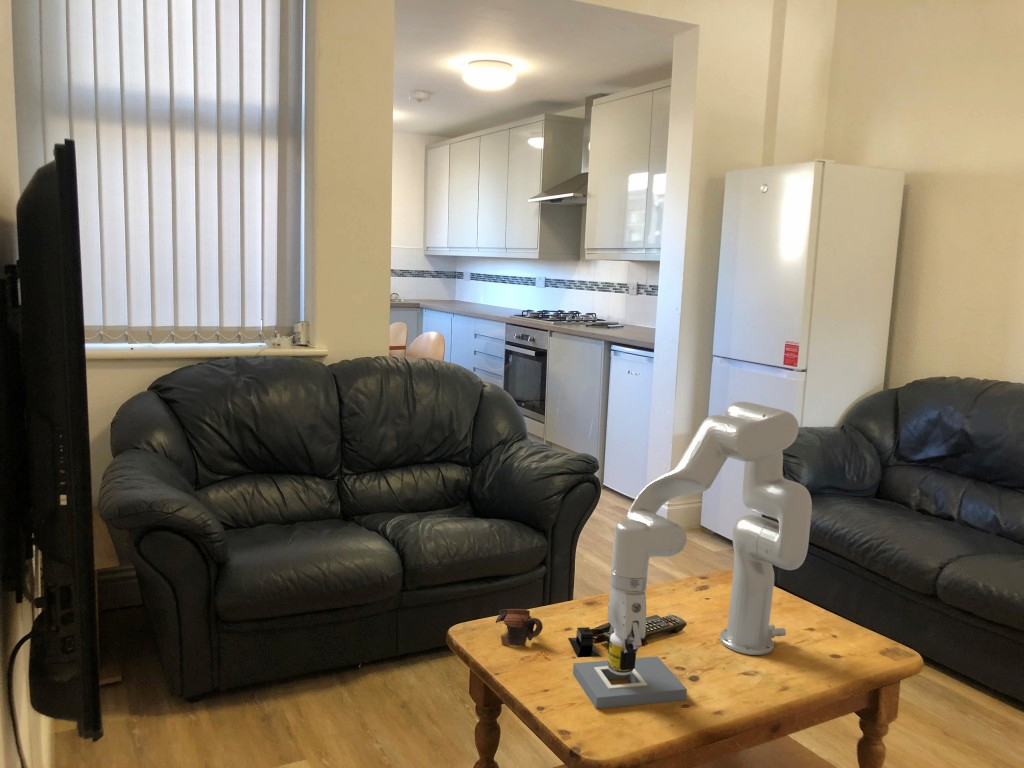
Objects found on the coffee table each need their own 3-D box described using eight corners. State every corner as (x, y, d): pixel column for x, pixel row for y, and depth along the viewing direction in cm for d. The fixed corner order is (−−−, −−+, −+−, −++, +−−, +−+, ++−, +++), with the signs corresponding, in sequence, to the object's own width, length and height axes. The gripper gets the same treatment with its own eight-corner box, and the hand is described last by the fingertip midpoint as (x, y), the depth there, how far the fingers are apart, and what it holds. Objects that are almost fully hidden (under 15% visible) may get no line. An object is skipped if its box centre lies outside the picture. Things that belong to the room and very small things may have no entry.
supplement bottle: (602, 665, 170) (606, 621, 169) (624, 661, 173) (628, 618, 171) (615, 677, 166) (619, 633, 164) (638, 673, 168) (642, 630, 166)
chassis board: (656, 666, 180) (657, 655, 179) (685, 699, 166) (687, 688, 166) (572, 673, 174) (573, 662, 174) (596, 708, 161) (597, 696, 161)
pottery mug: (488, 645, 186) (489, 608, 189) (505, 648, 194) (506, 612, 197) (536, 644, 181) (536, 607, 184) (551, 647, 189) (551, 611, 192)
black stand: (605, 661, 181) (607, 643, 181) (574, 662, 180) (576, 643, 179) (591, 636, 194) (592, 618, 193) (562, 637, 192) (563, 619, 192)
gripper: (663, 596, 159) (654, 681, 162) (628, 564, 175) (621, 641, 178) (628, 598, 157) (620, 684, 160) (596, 565, 173) (590, 643, 176)
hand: (621, 660), depth 169 cm, fingers closed on supplement bottle, 5 cm apart
